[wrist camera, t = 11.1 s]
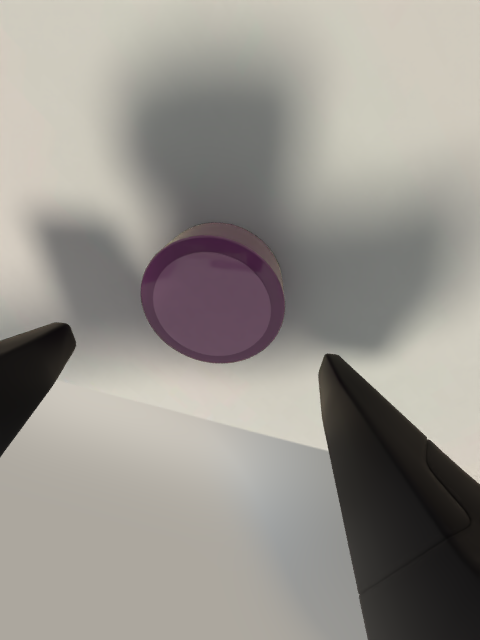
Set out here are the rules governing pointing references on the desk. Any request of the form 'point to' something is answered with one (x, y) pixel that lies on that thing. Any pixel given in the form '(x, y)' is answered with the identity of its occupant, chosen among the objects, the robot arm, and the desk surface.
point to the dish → (214, 293)
